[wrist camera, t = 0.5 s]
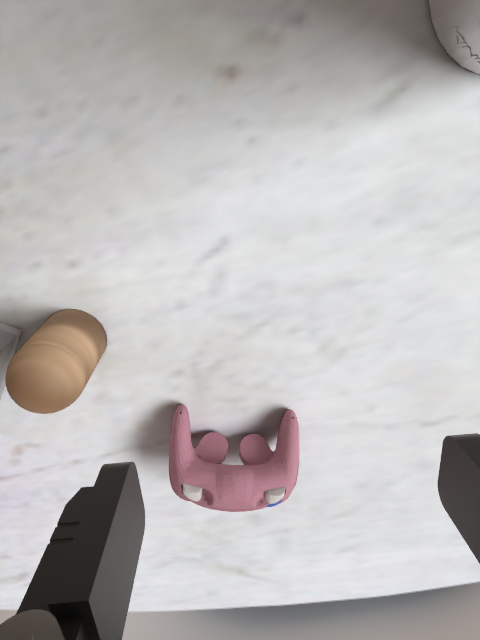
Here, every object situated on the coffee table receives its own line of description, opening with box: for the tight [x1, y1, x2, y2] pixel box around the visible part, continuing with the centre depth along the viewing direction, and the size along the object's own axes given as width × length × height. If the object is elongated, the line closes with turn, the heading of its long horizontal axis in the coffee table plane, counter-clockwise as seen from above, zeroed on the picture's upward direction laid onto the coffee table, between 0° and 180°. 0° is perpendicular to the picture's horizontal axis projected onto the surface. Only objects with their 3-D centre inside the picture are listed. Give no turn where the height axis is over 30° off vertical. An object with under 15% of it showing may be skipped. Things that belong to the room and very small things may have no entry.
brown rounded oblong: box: [5, 309, 107, 414], centre depth 26 cm, size 4×4×7 cm
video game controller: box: [169, 405, 299, 512], centre depth 31 cm, size 10×5×7 cm, turn 86°
